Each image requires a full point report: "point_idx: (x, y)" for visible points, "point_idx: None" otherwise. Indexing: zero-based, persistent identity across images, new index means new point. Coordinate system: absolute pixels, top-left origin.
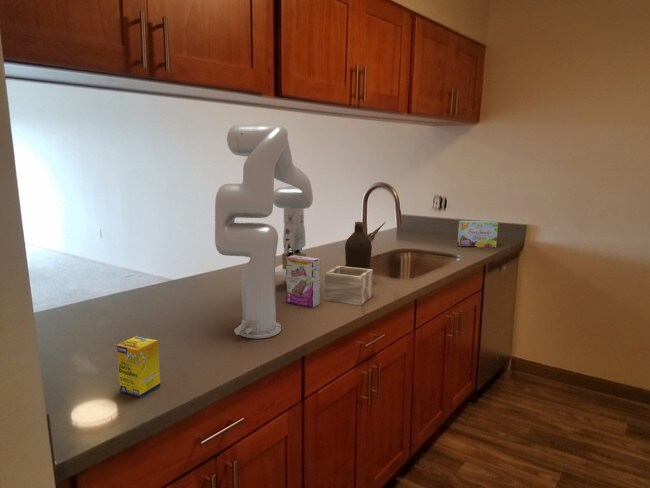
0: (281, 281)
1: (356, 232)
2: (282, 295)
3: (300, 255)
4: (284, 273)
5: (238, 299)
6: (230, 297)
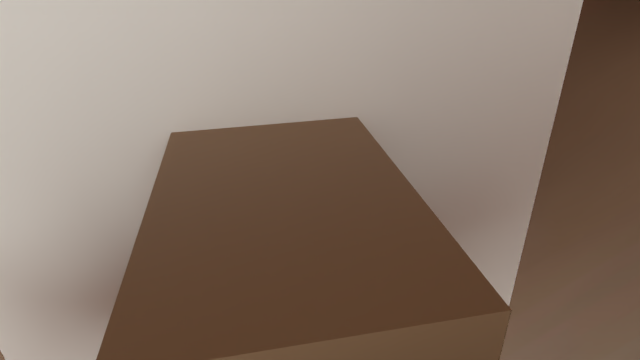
0: None
1: None
2: None
3: (506, 323)
4: (517, 241)
5: (635, 285)
6: (606, 333)
